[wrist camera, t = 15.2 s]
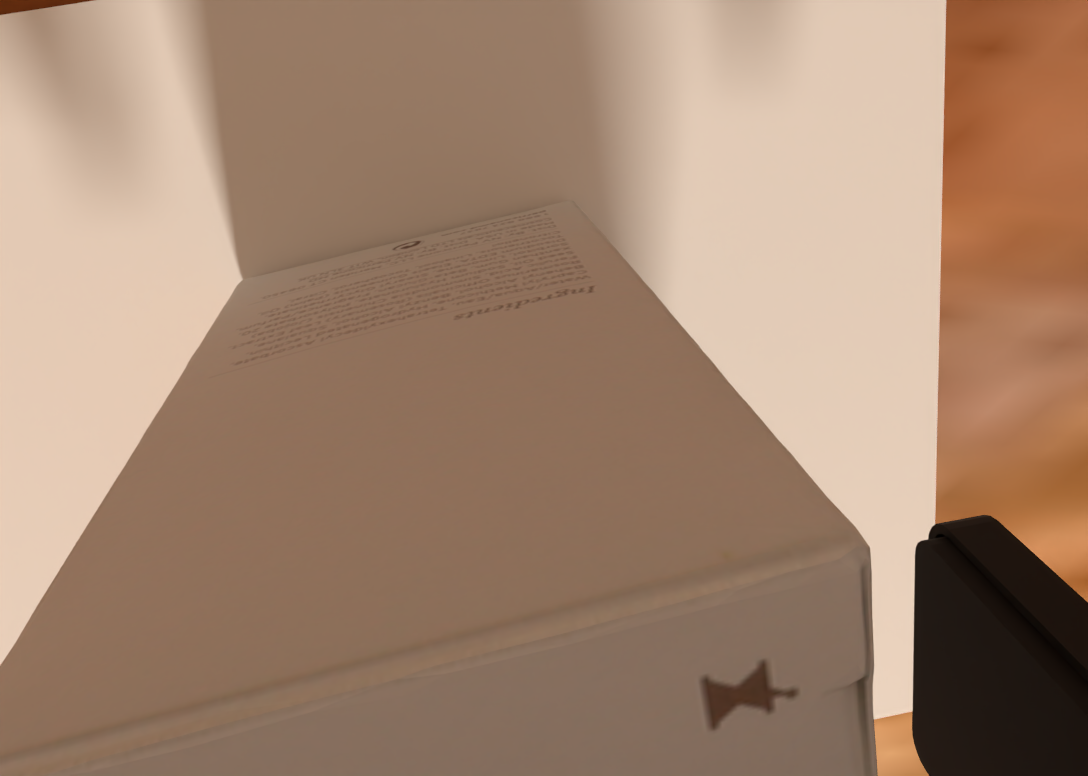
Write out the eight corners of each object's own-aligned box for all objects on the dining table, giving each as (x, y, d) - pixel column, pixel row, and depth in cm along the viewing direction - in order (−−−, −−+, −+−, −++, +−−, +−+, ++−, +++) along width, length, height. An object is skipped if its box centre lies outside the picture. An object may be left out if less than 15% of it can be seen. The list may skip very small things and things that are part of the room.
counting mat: (921, -125, 14) (948, -133, 14) (912, 682, 20) (930, 707, 20) (-271, 61, 13) (-312, 63, 12) (98, 853, 19) (85, 887, 19)
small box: (236, 272, 14) (-142, 784, 5) (579, 190, 15) (891, 521, 5) (377, 668, 18) (324, 1465, 8) (659, 596, 18) (946, 1286, 8)
